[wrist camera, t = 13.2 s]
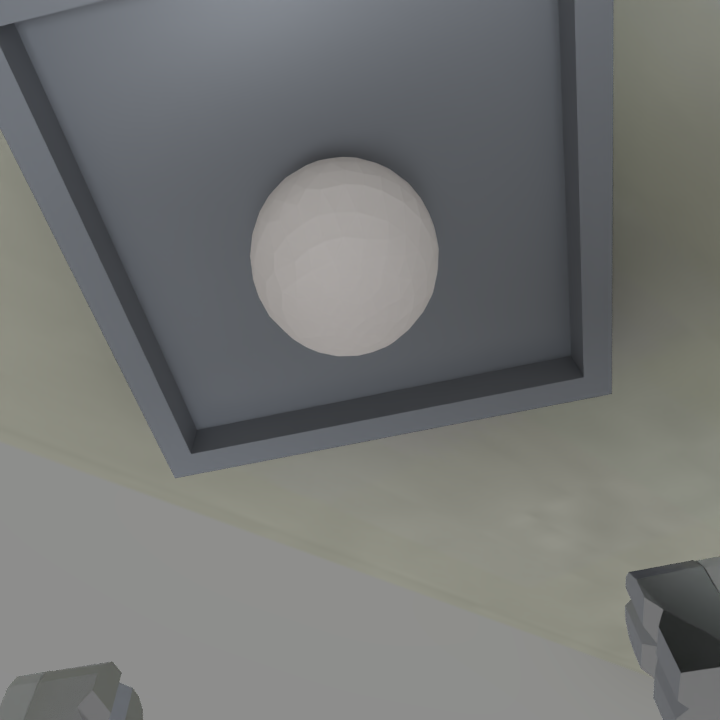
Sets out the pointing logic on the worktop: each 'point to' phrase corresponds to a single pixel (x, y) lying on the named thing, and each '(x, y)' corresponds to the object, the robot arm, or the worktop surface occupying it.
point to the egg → (344, 256)
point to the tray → (292, 152)
